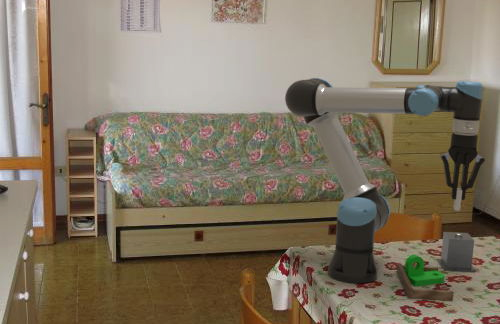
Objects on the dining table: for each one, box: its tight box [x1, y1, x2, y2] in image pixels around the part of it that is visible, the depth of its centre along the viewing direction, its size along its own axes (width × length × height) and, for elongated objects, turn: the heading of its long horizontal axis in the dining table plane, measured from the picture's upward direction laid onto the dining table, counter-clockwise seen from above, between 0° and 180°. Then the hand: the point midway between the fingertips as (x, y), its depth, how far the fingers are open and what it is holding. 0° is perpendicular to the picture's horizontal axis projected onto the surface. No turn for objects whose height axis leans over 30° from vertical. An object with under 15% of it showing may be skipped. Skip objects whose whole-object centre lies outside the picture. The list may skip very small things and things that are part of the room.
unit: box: [436, 231, 476, 273], centre depth 219 cm, size 10×10×11 cm
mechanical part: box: [404, 254, 446, 287], centre depth 204 cm, size 12×6×8 cm, turn 111°
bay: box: [396, 262, 455, 301], centre depth 201 cm, size 13×21×3 cm, turn 176°
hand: (456, 209), depth 204 cm, fingers closed
